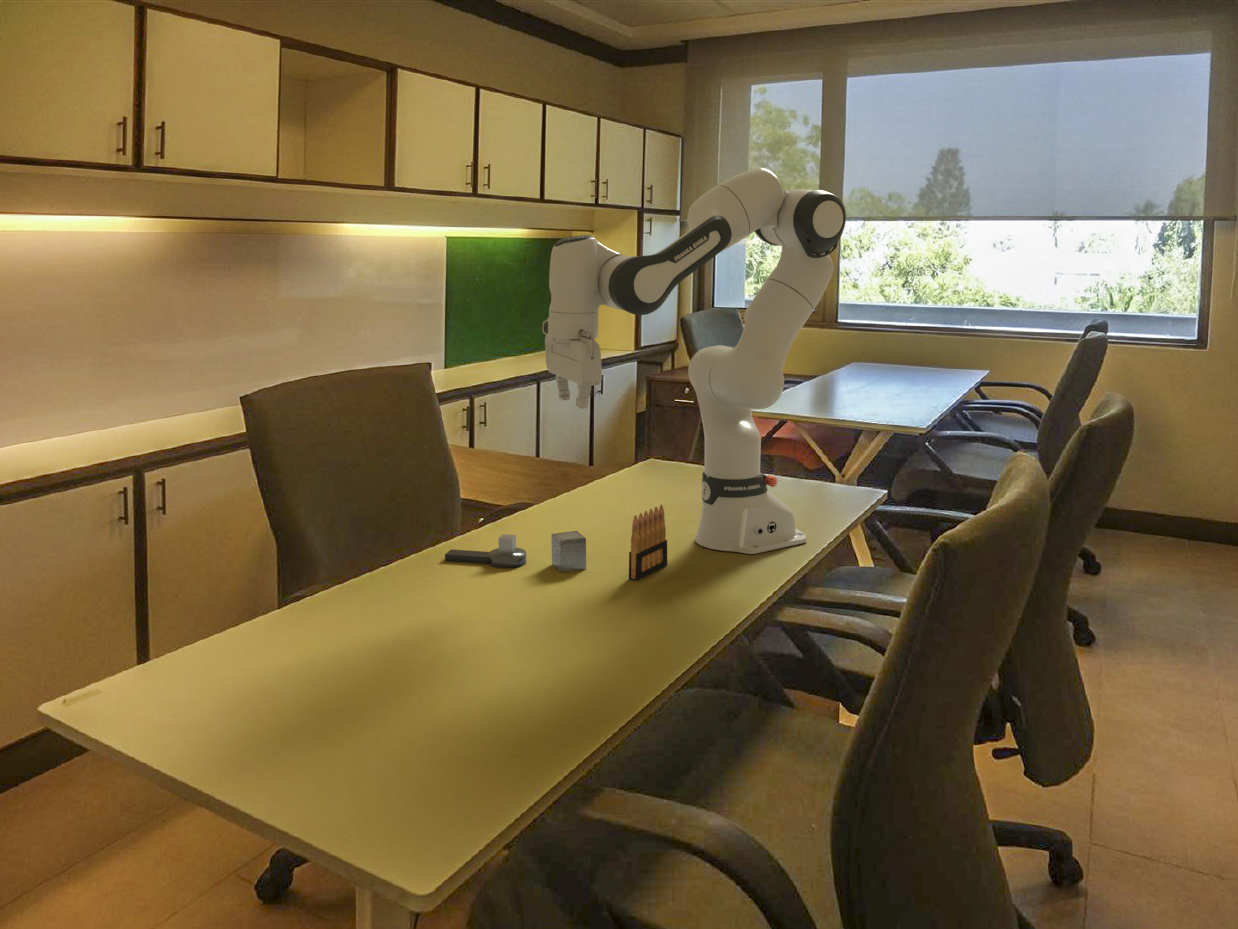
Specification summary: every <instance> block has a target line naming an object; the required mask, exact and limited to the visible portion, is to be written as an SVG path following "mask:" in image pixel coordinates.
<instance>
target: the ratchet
mask: <svg viewBox="0 0 1238 929" xmlns="http://www.w3.org/2000/svg"><path fill="white" fill-rule="evenodd" d="M444 561H445V562H450V563H465V564H479V565H489V566H491V567H492V568H496V569H503V570H505V569H509V570H510V569H516V568H520V567H523V566H525V565H526V564H527V551H526V550H525V549H523V548H521V547H520V548H519V547H517V535H516V534H502V535H500V536H499V537H498V548H495V549H492V550H490V551H483V550H482V551H480V550H479V551H478V550H467V549H466V550H465V549H449V550H448V551H447V552H446V553H444Z"/></svg>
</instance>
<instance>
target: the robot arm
mask: <svg viewBox="0 0 1238 929" xmlns="http://www.w3.org/2000/svg"><path fill="white" fill-rule="evenodd" d="M686 218H687V222H686V223H687V227H688V231H687V232H686V233H683V235H681V236H679V237H678V238H677V239H675V240H674V241H673V242H672V243H670V244H668V245H666V247H665V248H663V249H661V250H660V251H658V252H656V253H654V254H653V253H652V254H648V255H638V256H637V255H636V256H635V255H632V256H631V255H623V254H621V253H620V252H617V251H615V250H612V249H611V248H609V247H607V246H606V245H604V244H602V243H601V242H600V241H598V240H597V239H596V238H595V236H593V235H589V234H587V235H586V234H582V235H573V236H568V237H564V238H562V239H559V240H557V241H556V242H555V243H554V245H553V247H552V250H551V255H550V260H549V262H550V263H549V277H548V278H549V280H548V282H549V283H548V285H549V286H548V287H549V290H550V297H551V298H550V299H551V300H550V304H549V307H548V317H547V319H546V320H544V321H543V323H542V334H544V335H545V338H544V349H545V350H544V352H545V353H544V354H545V364H546V369H547V371H548V373H551V374H553V375H555V382H556V385H557V390H558V399H559V400H561V401H569V400H570V399H571V390H569V389H570V388H569V381H570V382H573V383H575V384H576V385H577V390H578V392H577V397H575V406H576V407H577V408H578V409H587V408H588V407H589V397H590V395H591V391H592V386H600V385H601V382H602V379H603V372H602V371H603V370H602V353H601V346H600V344H599V343H598V342H597V341H596V340H595V339H597V338H598V337H599V307H601V306H602V305H604V306H606V307H608V308H612V309H615V310H621V311H625V312H627V313H629V314H632V315H636V316H644V315H649V314H652V313H653V312H656V311H657V310H658V309H659V308H660V307H661V306H662V305H663V304H664V303H665V302H666V300H667V298H669V296H670V295H671V293H672V292H673V290H674V289H675V288H676V286H678V285H679V284H680V283H682V281H684V280H685V279H686V278H688V277H689V276H690V275H691V274H693V273H694V272H696V271H697V270H699V269H700V268H701V267H702V266H705V264H706V263H708V262H709V261H711V260H712V259H713V258H714V257H716V256H718V254H720V253H721V252H724V251H725V250H727V249H729V248H730V247H732V246H734V245H735V244H738V243H739V242H741V241H742V240H744V239H745V238H747V237H748V236H750V235H751V234H754V233H755V235H756V236H757V237H758V238H759V239H760V240H761V241H763V242H764V243H766V244H768V245H771V246H775V247H776V246H777V247H778V246H779V247H781V254H780V256H779V260H778V262H777V264H776V266H775V268H774V269H773V271H771V273H770V274H769V275H768V277H767V278H766V280H765V281H764V283H763V284H762V286H761V287H760V289H759V290H758V292H756V294H755V296H754V297H753V299H752V300H751V302H750V304H749V305H748V306H747V308H746V309H745V311H744V313H743V314H744V316H743V318H744V326H743V330H742V333H741V336H740V338H739V341H738V343H737V344H736V345H735V346H734V347H731V346H729V345H728V346H726V345H723V344H719V345H712V346H707V347H704V348H702V349H699V350H698V351H696V352H695V353H694V354H693V356H692V357H691V359H690V361H689V365H688V369H687V370H688V371H687V372H688V373H687V374H688V378H689V381H690V384H691V386H692V387H693V390H694V391H695V393H696V394H695V395H696V398H697V402H698V407H699V411H700V416H701V421H702V425H703V426H702V427H703V434H704V435H703V437H704V471H703V472H702V473H701V474H702V477H701V501H702V506H701V515H700V520H699V523H698V525H699V526H698V529H697V532H696V535H695V539H694V540H695V543H696V544H698V545H700V546H702V547H705V548H707V549H710V550H716V551H722V552H723V551H724V552H734V553H736V552H737V553H742V554H747V555H756V554H759V553H760V554H761V553H765V552H768V551H774V550H777V549H782V548H786V547H787V548H788V547H791V546H797V545H800V544H804V543H806V542H807V535H806V534H805V533H804V532H803V531H801V530H800V529H798V528H797V527H796V522H795V516H794V513H793V511H792V508H790V507H789V506H788V505H787V504H785V502H783V501H782V500H780V499H779V498H778V497H776V496H775V495H774V494H773V493H771V492H770V491H768V487H767V486H769V487H771V488H774V487H776V486H777V485H778V482H779V481H778V479H777V477H776V476H772V475H766V474H764V473H762V472H761V448H762V446H761V445H762V443H761V442H762V437H761V434H760V431H759V429H758V428H759V427H757V425H756V423H755V420H754V418H753V414H752V413H753V412H752V410H764V409H769V408H770V407H771V406H773V405H775V403H777V401H779V399H780V398H781V397H782V394H783V391H784V387H785V377H784V367H785V363H786V360H787V356H788V354H789V351H790V349H791V347H792V346H793V342H794V341H795V339H796V338H797V336H798V335H799V333H800V332H801V330H802V329H803V327H804V326H805V324H806V323H807V321H808V320H809V318H810V316H811V315H812V313H813V312H814V311H815V309H816V308H817V307H818V305H819V302H820V301H821V299H822V298H823V296H824V294H825V291H826V290H827V287H828V286H829V283H830V281H831V279H832V276H833V274H834V270H835V269H834V268H835V267H834V266H835V265H834V263H833V259H832V258H831V256H830V254H831V253H834V251H835V250H836V249H837V247H838V245H839V244H838V243H839V240H840V238H841V237H842V235H843V232H844V230H845V226H846V222H847V211H846V207H845V205H844V203H843V201H842V200H841V198H840V197H838V196H837V195H835V194H833V193H831V192H829V191H826V190H822V189H815V190H813V189H807V188H796V189H784V188H783V185H782V182H781V181H780V179H779V177H778V176H777V175H776V174H775V173H774V172H772V171H771V170H769V169H767V168H764V167H754V168H752V169H748V170H746V171H743V172H740V173H738V174H737V175H734V176H732V177H730V178H727V179H725V180H723V181H722V182H720V183H718V184H717V185H714V186H713V187H712V188H710V189H709V190H706V192H704V193H703V194H702V195H701V196H700V197H698V198H697V199H696V200H695V201H694V202H693V203H692V204H691V205H690V206H689V209H688V212H687V217H686Z"/></svg>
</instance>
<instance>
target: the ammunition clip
mask: <svg viewBox="0 0 1238 929" xmlns="http://www.w3.org/2000/svg"><path fill="white" fill-rule="evenodd" d="M632 519H633V520H632V524H631V525H632V526H631V527H632V529H631V537H630V551H629V552H628V555H629V556H628V557H629V558H628V579H629V580H632V581H637V582H638V581H640V580H642V579H644V578H646V577H648V576H650V575H651V574H654V573H656V572H658V571H659V570H660V571H661V570H662V569H664V568H666V567H668V540H667V539H666V536H667V535H666V523H665V522H666V521H665V510H664V506H663V504H660V505H659V508H658V506H655V507H654V508H653V509H652V508H650V509H649V510H648V511H647V510H645V511H644V514H643V513H642V512H640V513H639V515H638V516H637V515H634V516H633V518H632Z"/></svg>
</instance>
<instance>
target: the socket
mask: <svg viewBox="0 0 1238 929" xmlns="http://www.w3.org/2000/svg"><path fill="white" fill-rule="evenodd" d="M551 565H552V566H553V567H555V569H557V570H558V571H559V572H560V573H565V572H573V571H580V570H586V569H587V538H586V537H585V536H584V535H583V534H581V533H580V532H579V531H578V530H575V531H573V530H572V531H566V532H565V531H564V532H557V533H556V532H555V533H551Z"/></svg>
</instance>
